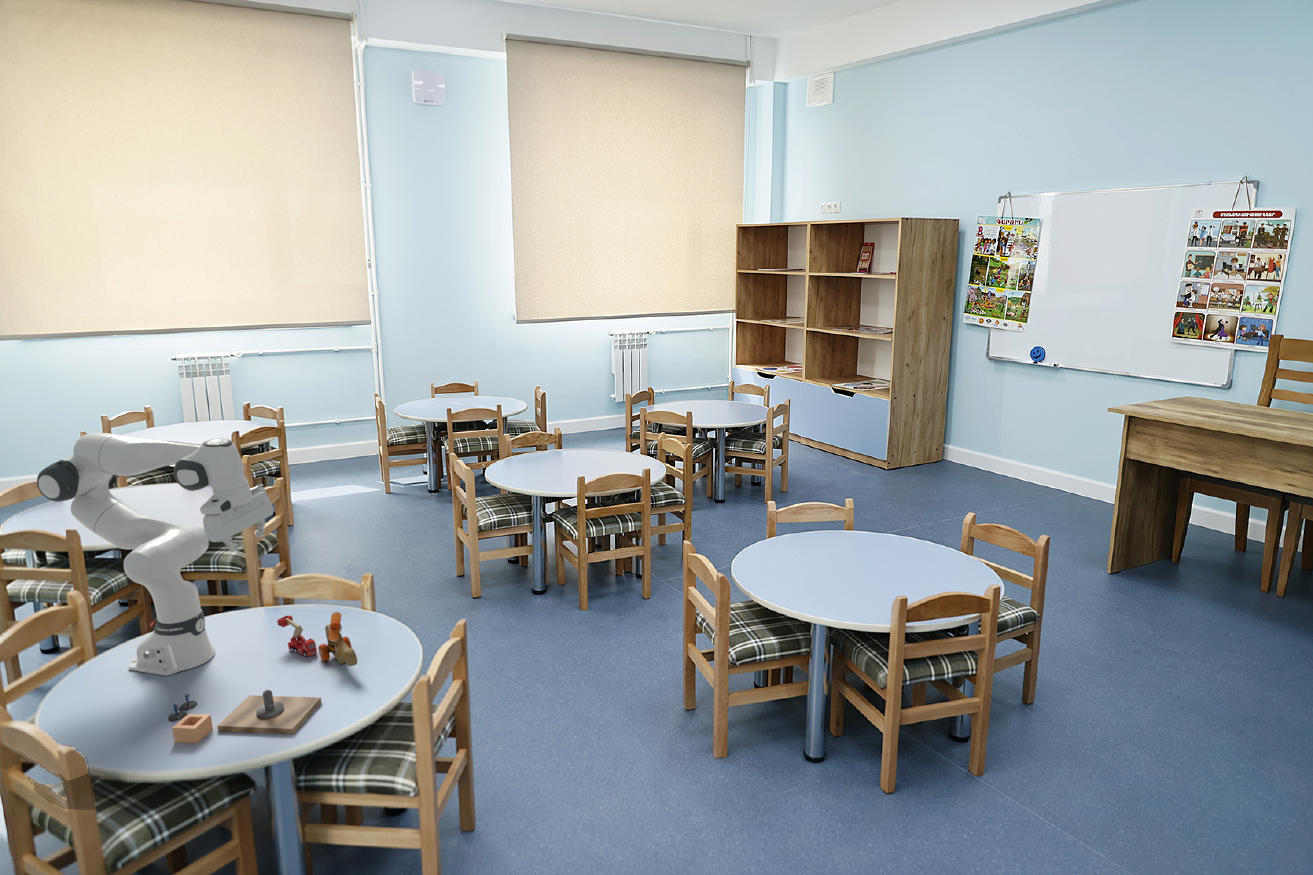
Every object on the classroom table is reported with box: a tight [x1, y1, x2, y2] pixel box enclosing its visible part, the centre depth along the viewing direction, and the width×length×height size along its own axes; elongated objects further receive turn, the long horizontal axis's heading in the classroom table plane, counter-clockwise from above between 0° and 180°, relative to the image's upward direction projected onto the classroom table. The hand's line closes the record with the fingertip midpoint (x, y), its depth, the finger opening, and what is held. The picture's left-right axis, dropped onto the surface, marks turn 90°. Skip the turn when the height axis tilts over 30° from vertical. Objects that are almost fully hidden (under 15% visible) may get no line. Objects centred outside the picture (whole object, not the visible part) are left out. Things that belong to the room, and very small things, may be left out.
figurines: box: [167, 693, 198, 723], centre depth 214 cm, size 10×5×4 cm, turn 178°
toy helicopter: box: [318, 611, 358, 667], centre depth 234 cm, size 8×21×14 cm, turn 39°
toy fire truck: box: [276, 615, 318, 657], centre depth 244 cm, size 3×14×10 cm, turn 58°
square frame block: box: [172, 713, 214, 744], centre depth 203 cm, size 6×6×4 cm
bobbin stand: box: [216, 689, 322, 735], centre depth 210 cm, size 20×14×8 cm
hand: (248, 543), depth 226 cm, fingers open, 8 cm apart
